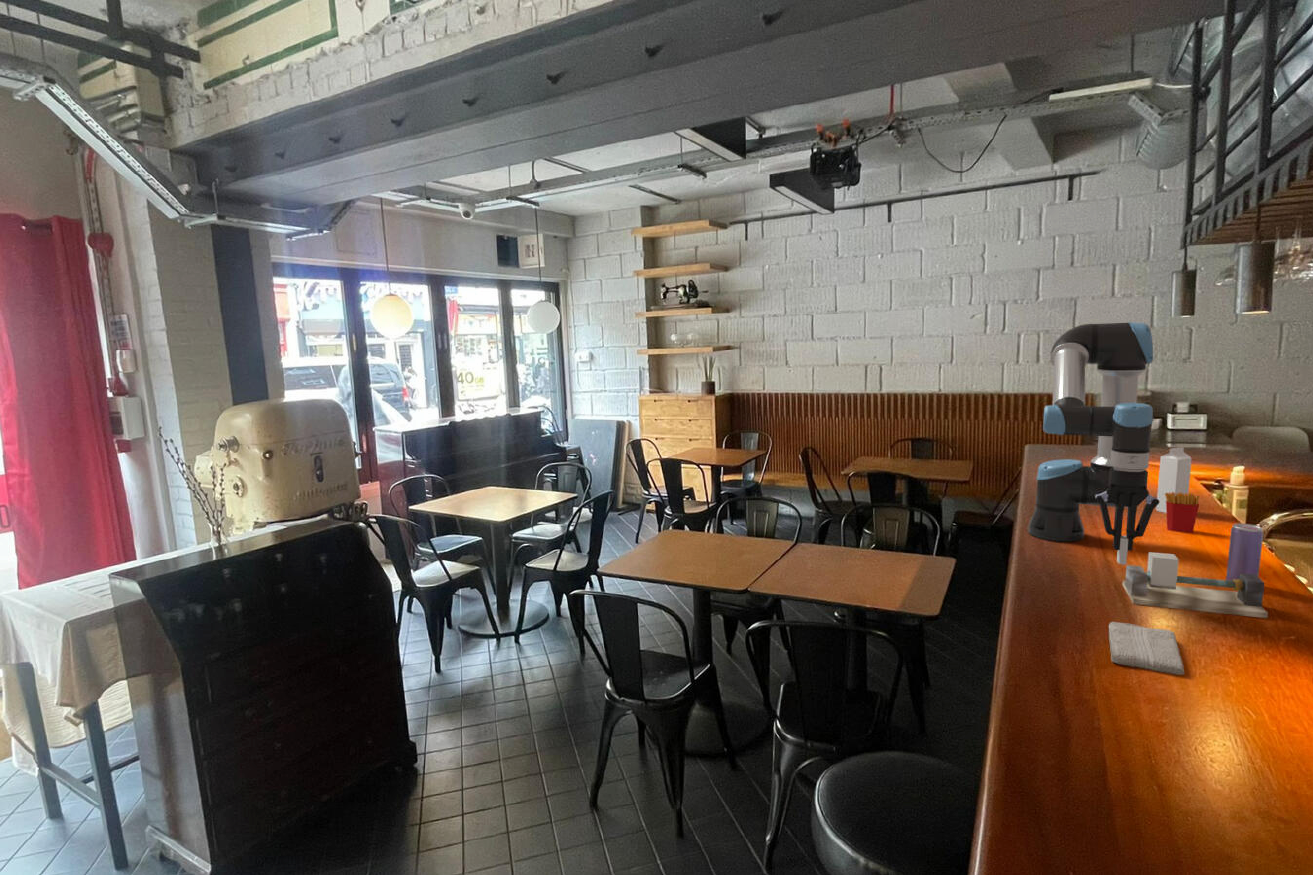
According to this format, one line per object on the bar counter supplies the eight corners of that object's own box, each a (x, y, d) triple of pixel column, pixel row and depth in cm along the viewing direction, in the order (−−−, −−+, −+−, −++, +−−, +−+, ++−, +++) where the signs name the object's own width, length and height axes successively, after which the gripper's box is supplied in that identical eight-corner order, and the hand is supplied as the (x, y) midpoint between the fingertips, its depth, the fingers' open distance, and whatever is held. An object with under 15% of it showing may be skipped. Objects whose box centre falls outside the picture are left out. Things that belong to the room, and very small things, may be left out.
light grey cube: (1150, 587, 164) (1152, 557, 162) (1146, 581, 167) (1148, 552, 166) (1175, 589, 162) (1178, 559, 160) (1171, 583, 165) (1173, 554, 164)
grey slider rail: (1133, 603, 162) (1135, 575, 161) (1122, 585, 173) (1124, 558, 172) (1267, 618, 152) (1270, 588, 151) (1247, 597, 163) (1250, 569, 162)
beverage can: (1250, 591, 166) (1256, 532, 164) (1220, 583, 172) (1226, 525, 169) (1261, 585, 169) (1268, 527, 166) (1232, 578, 174) (1239, 521, 172)
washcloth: (1172, 640, 145) (1173, 626, 144) (1186, 679, 130) (1187, 664, 129) (1105, 629, 151) (1106, 616, 150) (1111, 666, 136) (1112, 651, 135)
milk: (1186, 513, 229) (1193, 448, 225) (1172, 515, 227) (1179, 450, 224) (1168, 508, 235) (1175, 445, 231) (1155, 510, 233) (1161, 447, 229)
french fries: (1195, 530, 212) (1199, 492, 210) (1196, 533, 209) (1200, 495, 207) (1161, 526, 216) (1164, 489, 214) (1162, 530, 213) (1165, 492, 211)
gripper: (1099, 470, 162) (1092, 564, 166) (1166, 473, 157) (1157, 570, 161) (1094, 463, 169) (1087, 554, 173) (1157, 466, 164) (1149, 560, 168)
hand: (1121, 562), depth 167 cm, fingers closed
